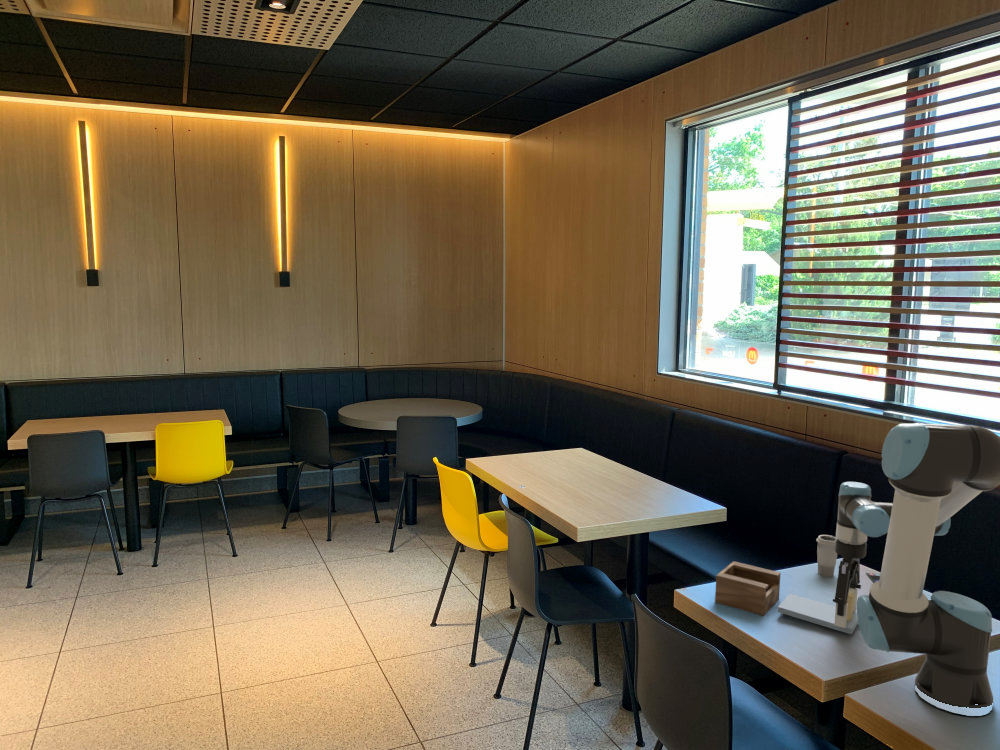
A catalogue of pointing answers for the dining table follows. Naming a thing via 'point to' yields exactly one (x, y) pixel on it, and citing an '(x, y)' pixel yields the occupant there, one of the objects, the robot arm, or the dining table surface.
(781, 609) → the lid
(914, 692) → the dining table surface
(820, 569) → the cup
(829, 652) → the dining table surface
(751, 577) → the case
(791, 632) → the dining table surface
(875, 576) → the smartphone
